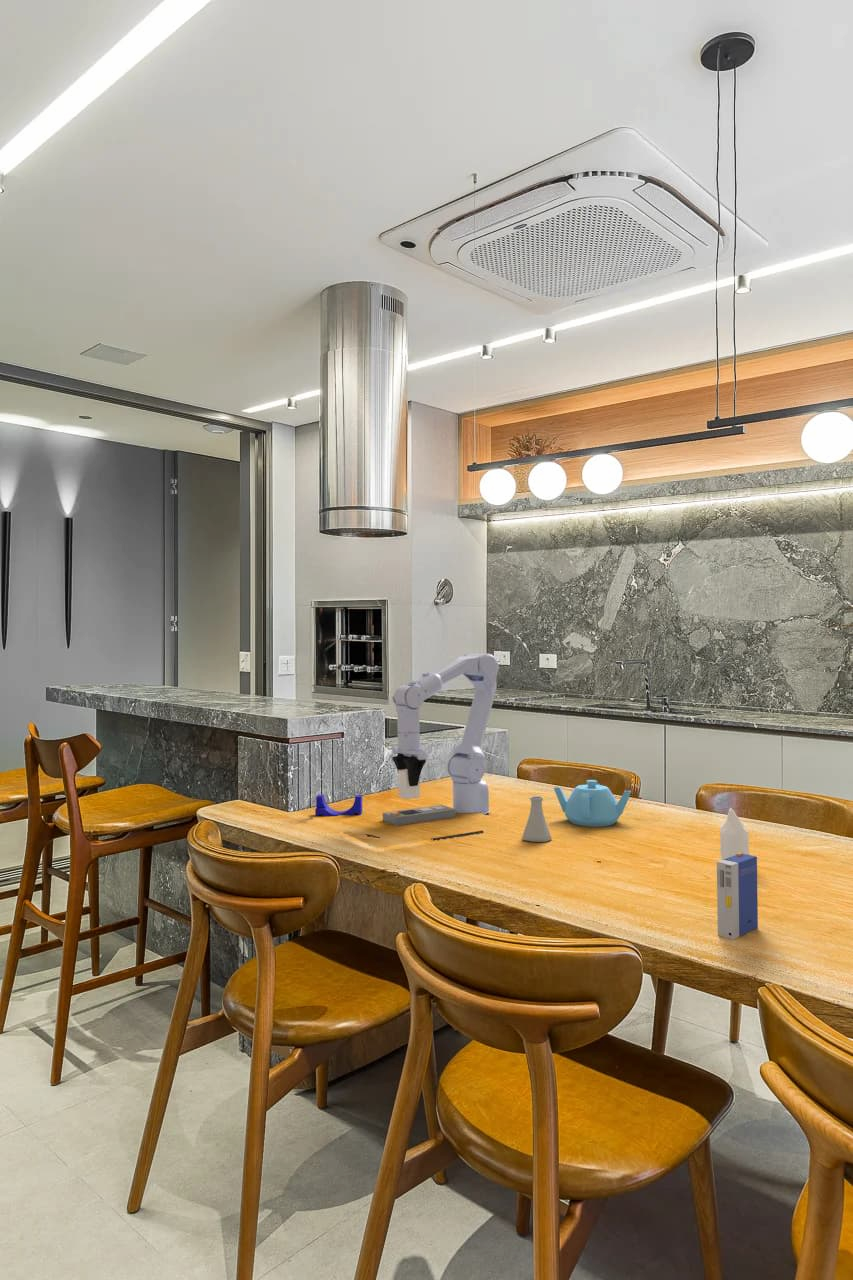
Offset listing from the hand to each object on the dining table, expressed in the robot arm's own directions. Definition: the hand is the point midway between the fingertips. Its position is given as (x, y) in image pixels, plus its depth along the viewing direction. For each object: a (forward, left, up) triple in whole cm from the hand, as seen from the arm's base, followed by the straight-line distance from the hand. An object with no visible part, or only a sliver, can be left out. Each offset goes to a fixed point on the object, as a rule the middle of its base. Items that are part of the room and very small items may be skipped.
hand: (409, 784), depth 211 cm
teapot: (-41, +24, -10) cm, 49 cm away
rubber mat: (-3, +14, -10) cm, 18 cm away
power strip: (-3, 0, -10) cm, 11 cm away
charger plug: (0, 0, -3) cm, 3 cm away
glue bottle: (-36, +72, -10) cm, 81 cm away
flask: (-17, +31, -10) cm, 37 cm away
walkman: (-5, +97, -10) cm, 98 cm away
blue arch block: (+12, -17, -11) cm, 23 cm away
